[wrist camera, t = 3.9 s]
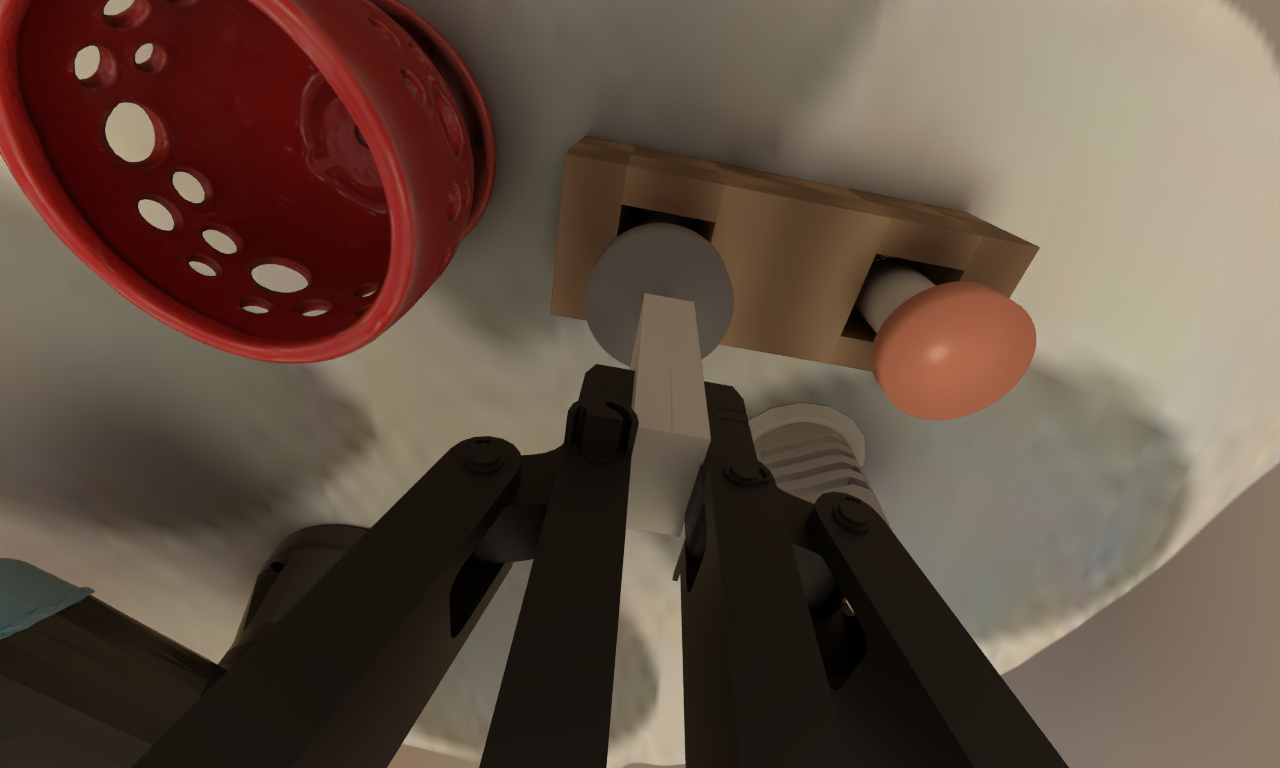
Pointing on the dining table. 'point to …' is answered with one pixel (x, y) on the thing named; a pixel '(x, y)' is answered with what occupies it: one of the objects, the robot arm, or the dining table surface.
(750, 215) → the socket block
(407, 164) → the plant pot
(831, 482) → the french press
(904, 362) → the red plug
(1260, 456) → the dining table surface
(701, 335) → the charcoal plug
